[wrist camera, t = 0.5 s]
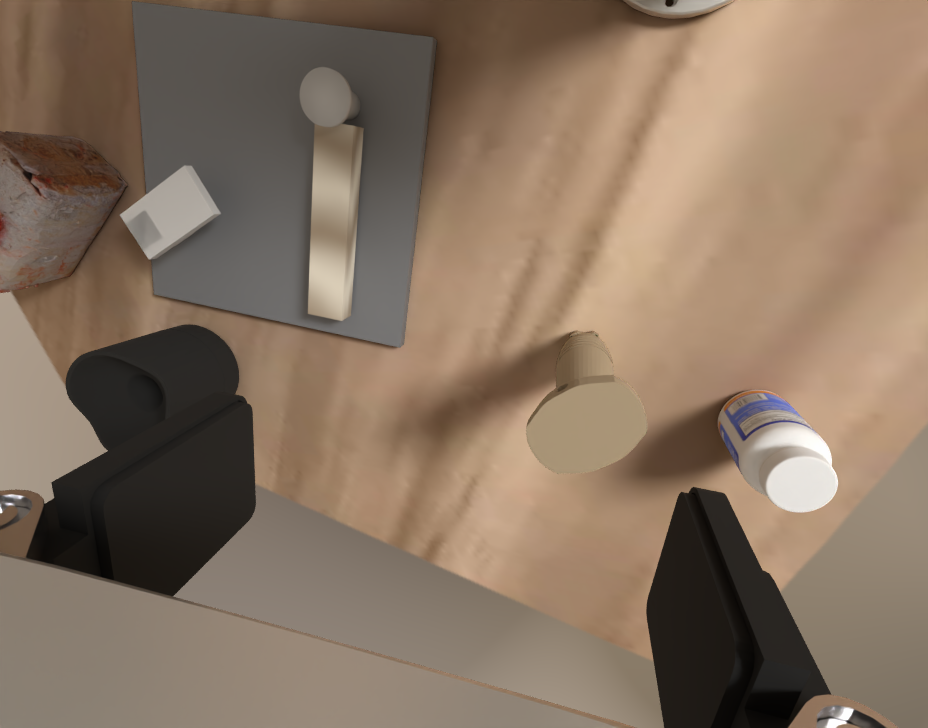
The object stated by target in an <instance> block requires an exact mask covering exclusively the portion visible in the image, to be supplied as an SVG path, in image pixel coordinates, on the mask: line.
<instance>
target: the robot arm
mask: <svg viewBox="0 0 928 728" xmlns="http://www.w3.org/2000/svg"><path fill="white" fill-rule="evenodd" d="M623 1H624V2H626V3H627V4H628V5H630V6H631V7H633V8H634V9H636V10H639V11H641V12H644V13H646V14H649V15H651V16H657V17H663V18H669V19H673V18H690V17H694V16H698V15H702V14H706V13H710V12H712V11H714V10H716V9H719V8H721V7H723V6H725V5H727V4H729V3H731V2H733V1H734V0H672V1H673V5H672V6H671V7H667V6H666V5H665V1H666V0H623ZM52 488H53V493H54V499H52V500H51V501H49V502H47V503H46V504H44V499H43V498H42V497H41V496H40V495H39V494H37V493H34V492H32V491H27V490H5V491H0V728H635V727H632V726H629V725H626V724H623V723H620V722H617V721H613V720H610V719H606V718H602V717H598V716H595V715H592V714H588V713H585V712H581V711H578V710H575V709H571V708H568V707H564V706H561V705H558V704H554V703H551V702H548V701H544V700H540V699H537V698H534V697H530V696H527V695H523V694H519V693H516V692H512V691H509V690H506V689H502V688H498V687H495V686H491V685H488V684H484V683H481V682H477V681H474V680H470V679H467V678H463V677H459V676H456V675H453V674H449V673H446V672H442V671H439V670H435V669H432V668H428V667H425V666H421V665H418V664H414V663H411V662H407V661H403V660H400V659H397V658H393V657H390V656H386V655H382V654H379V653H375V652H372V651H368V650H364V649H361V648H357V647H354V646H350V645H347V644H343V643H339V642H336V641H332V640H328V639H325V638H321V637H318V636H314V635H311V634H307V633H303V632H300V631H296V630H293V629H289V628H285V627H281V626H278V625H274V624H271V623H267V622H264V621H260V620H256V619H252V618H249V617H246V616H242V615H239V614H235V613H231V612H228V611H224V610H220V609H216V608H213V607H209V606H205V605H202V604H198V603H194V602H191V601H187V600H183V599H180V598H176V597H173V596H174V595H175V594H176V593H177V592H178V591H179V590H180V589H181V588H182V587H183V586H184V585H185V584H186V583H187V582H188V581H189V580H190V579H191V578H192V577H193V576H194V575H195V574H196V573H197V572H198V571H199V570H200V569H201V568H202V567H203V566H204V565H205V564H206V563H207V562H208V561H209V560H210V559H211V558H212V557H213V556H214V555H215V554H216V553H217V552H218V551H219V550H220V549H221V548H222V547H223V546H224V545H225V544H226V543H227V542H228V541H229V540H230V539H231V538H232V537H233V536H234V535H235V534H236V533H237V532H238V531H239V530H240V529H241V528H242V527H243V526H244V525H245V524H246V523H247V522H248V521H249V520H250V518H251V517H252V515H253V513H254V510H255V505H256V496H255V469H254V441H253V413H252V407H251V405H250V404H247V401H246V399H245V398H244V397H243V396H239V395H234V394H230V393H225V392H219V391H218V392H215V393H213V394H211V395H209V396H207V397H205V398H204V399H202V400H200V401H198V402H196V403H195V404H193V405H191V406H189V407H187V408H185V409H184V410H182V411H180V412H178V413H176V414H175V415H173V416H171V417H169V418H167V419H166V420H164V421H162V422H160V423H158V424H156V425H155V426H153V427H151V428H149V429H147V430H146V431H144V432H142V433H140V434H138V435H137V436H135V437H133V438H131V439H129V440H127V441H126V442H124V443H122V444H120V445H118V446H117V447H115V448H113V449H111V450H109V451H107V452H106V453H104V454H102V455H100V456H99V457H97V458H95V459H93V460H91V461H89V462H88V463H86V464H84V465H82V466H80V467H78V468H77V469H75V470H73V471H71V472H70V473H68V474H66V475H64V476H62V477H60V478H59V479H57V480H55V481H53V482H52ZM647 622H648V628H649V634H650V641H651V647H652V653H653V659H654V666H655V672H656V678H657V685H658V691H659V697H660V703H661V710H662V716H663V722H664V728H898V727H897V726H896V725H894V724H893V723H892V722H890V721H889V720H888V719H887V718H885V717H884V716H882V715H880V714H879V713H877V712H875V711H874V710H872V709H870V708H869V707H867V706H865V705H863V704H860V703H858V702H855V701H853V700H850V699H848V698H845V697H839V696H834V695H831V693H830V691H829V689H828V687H827V685H826V683H825V681H824V679H823V677H822V675H821V673H820V671H819V669H818V667H817V665H816V663H815V661H814V659H813V657H812V655H811V653H810V651H809V649H808V647H807V645H806V644H805V641H804V639H803V637H802V635H801V633H800V631H799V629H798V627H797V625H796V624H795V621H794V619H793V617H792V615H791V613H790V611H789V609H788V607H787V605H786V603H785V601H784V599H783V597H782V596H781V593H780V591H779V589H778V587H777V585H776V583H775V581H774V580H773V578H772V577H771V575H770V574H769V573H767V572H765V571H762V568H761V566H760V564H759V562H758V560H757V558H756V556H755V554H754V552H753V550H752V548H751V546H750V544H749V542H748V540H747V538H746V535H745V533H744V531H743V529H742V527H741V525H740V523H739V521H738V519H737V517H736V515H735V513H734V511H733V509H732V507H731V505H730V502H729V500H728V498H727V496H726V495H725V494H724V493H721V492H716V491H711V490H706V489H701V488H696V487H693V488H691V490H690V491H689V493H684V492H681V493H680V494H679V496H678V499H677V502H676V505H675V509H674V512H673V515H672V519H671V522H670V525H669V529H668V532H667V536H666V539H665V542H664V546H663V549H662V552H661V556H660V559H659V562H658V566H657V569H656V573H655V576H654V579H653V583H652V586H651V589H650V593H649V596H648V600H647Z"/></svg>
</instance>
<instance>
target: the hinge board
mask: <svg viewBox="0 0 928 728" xmlns="http://www.w3.org/2000/svg"><path fill="white" fill-rule="evenodd" d="M132 12H133V25H134V38H135V51H136V65H137V78H138V91H139V104H140V117H141V131H142V144H143V157H144V170H145V183H146V195H145V196H144V197H142V198H141V199H140V200H139V201H137V202H136V203H135V204H133V205H132V206H131V207H129V208H128V209H127V210H126V211H124V212H123V213H122V214H120V216H121V218H122V219H123V221H124V222H125V224H126V225H127V227H128V228H129V230H130V232H131V233H132V235H133V236H134V238H135V239H136V241H137V242H138V244H139V245H140V247H141V248H142V250H143V252H144V253H145V255H146V256H147V258H148V259H149V260H151V263H152V276H153V289H154V294H155V295H160V296H164V297H169V298H173V299H178V300H183V301H187V302H192V303H196V304H201V305H206V306H210V307H215V308H220V309H224V310H229V311H233V312H238V313H243V314H247V315H252V316H257V317H261V318H266V319H270V320H275V321H280V322H284V323H289V324H293V325H298V326H303V327H307V328H312V329H317V330H321V331H326V332H330V333H335V334H340V335H344V336H349V337H354V338H358V339H363V340H367V341H372V342H377V343H381V344H386V345H390V346H395V347H401V346H402V345H403V344H404V338H405V329H406V320H407V310H408V301H409V292H410V283H411V274H412V265H413V256H414V247H415V237H416V228H417V219H418V210H419V201H420V192H421V183H422V173H423V164H424V155H425V146H426V137H427V128H428V119H429V110H430V100H431V91H432V82H433V73H434V64H435V55H436V46H437V40H436V39H435V38H434V37H428V36H419V35H411V34H403V33H394V32H386V31H378V30H369V29H361V28H352V27H344V26H336V25H327V24H319V23H311V22H302V21H294V20H285V19H277V18H269V17H260V16H252V15H244V14H235V13H227V12H218V11H210V10H202V9H193V8H185V7H177V6H168V5H160V4H151V3H143V2H135V1H132ZM315 124H317V125H319V126H323V127H336V126H339V125H340V124H346V125H353V126H357V127H361V128H364V131H363V146H362V161H361V175H360V190H359V204H358V219H357V234H356V248H355V263H354V278H353V292H352V307H351V316H350V317H348V318H346V319H344V320H342V321H340V320H335V319H330V318H325V317H321V316H316V315H311V314H308V295H309V267H310V240H311V212H312V185H313V157H314V130H315Z"/></svg>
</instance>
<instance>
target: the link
mask: <svg viewBox="0 0 928 728" xmlns="http://www.w3.org/2000/svg"><path fill="white" fill-rule="evenodd" d="M363 131H364V128H361V127H357V126H353V125H346V124H340V125H339V126H336V127H323V126H319V125H317V124H315V130H314V157H313V185H312V212H311V240H310V267H309V295H308V314H311V315H316V316H321V317H325V318H330V319H335V320H340V321H342V320H344V319H346V318H348V317H350V316H351V307H352V292H353V278H354V263H355V248H356V234H357V219H358V204H359V190H360V175H361V161H362V146H363Z"/></svg>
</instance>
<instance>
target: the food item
mask: <svg viewBox="0 0 928 728" xmlns="http://www.w3.org/2000/svg"><path fill="white" fill-rule="evenodd" d="M126 186H128V185H127V184H126V182H125V181H124V180H123V179H122V178H121V177H120V174H119V173H118V171H117V170H116V169H114V168H113V167H112V166H111V165H109V164H108V163H107V162H106V161H105V160H104V159H103V158H102V157H101V156H100V155H99V154H98V153H97V152H96V151H95V150H94V149H93V148H92V147H91V146H90V145H89V144H88V143H86V142H85V141H84V140H81V139H78V138H75V137H68V136H63V137H60V136H51V135H37V134H29V133H19V132H8V131H6V132H2V131H0V293H3V292H10V290H19V289H25V288H29V286H34V287H38V285H39V284H40V283H45V282H48V281H51V280H56V279H60V278H63V277H68V276H70V275H71V274H72V273H73V271H74V269H75V267H76V266H77V264H78V263H79V262H80V260H81V259H82V257H83V255H84V253H85V251H86V249H87V248H88V246H89V245H90V244H91V242H92V241H93V239H94V238H95V236H96V234H97V233H98V231H99V230H100V228H101V227H102V225H103V224H104V222H105V221H106V219H107V218H108V216H109V214H110V213H111V211H112V209H113V207H114V206H115V204H116V202H117V200H118V199H119V198H120V196H121V195H122V193H123V192H124V190H125V187H126Z"/></svg>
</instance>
